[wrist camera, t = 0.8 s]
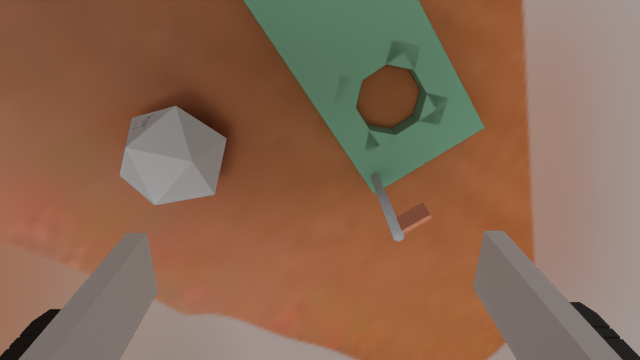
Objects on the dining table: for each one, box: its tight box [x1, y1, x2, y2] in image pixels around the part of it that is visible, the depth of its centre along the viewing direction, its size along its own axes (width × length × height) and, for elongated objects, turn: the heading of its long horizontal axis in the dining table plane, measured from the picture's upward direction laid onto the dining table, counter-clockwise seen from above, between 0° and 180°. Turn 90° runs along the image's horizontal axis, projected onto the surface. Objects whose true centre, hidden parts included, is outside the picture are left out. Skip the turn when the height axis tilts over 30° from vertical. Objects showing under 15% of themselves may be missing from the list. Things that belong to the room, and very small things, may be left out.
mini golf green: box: [244, 0, 485, 241], centre depth 28 cm, size 30×12×14 cm, turn 34°
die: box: [120, 106, 227, 205], centre depth 35 cm, size 8×9×10 cm
